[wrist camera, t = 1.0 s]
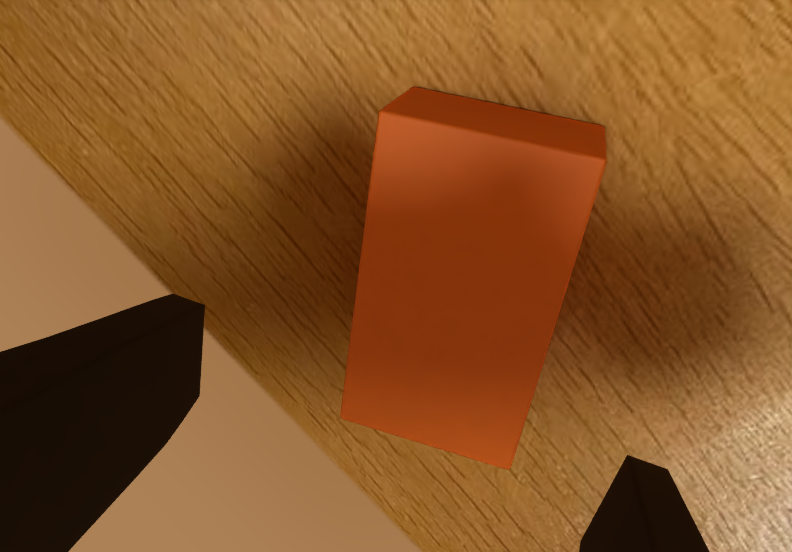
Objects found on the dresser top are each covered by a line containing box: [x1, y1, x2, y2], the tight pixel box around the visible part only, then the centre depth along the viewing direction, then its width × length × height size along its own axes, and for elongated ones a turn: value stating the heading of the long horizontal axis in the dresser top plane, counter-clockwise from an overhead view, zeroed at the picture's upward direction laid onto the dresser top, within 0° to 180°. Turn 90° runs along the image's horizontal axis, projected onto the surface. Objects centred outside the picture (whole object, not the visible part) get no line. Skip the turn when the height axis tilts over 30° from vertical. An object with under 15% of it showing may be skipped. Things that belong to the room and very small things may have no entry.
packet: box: [340, 87, 607, 469], centre depth 17 cm, size 5×9×3 cm, turn 172°
